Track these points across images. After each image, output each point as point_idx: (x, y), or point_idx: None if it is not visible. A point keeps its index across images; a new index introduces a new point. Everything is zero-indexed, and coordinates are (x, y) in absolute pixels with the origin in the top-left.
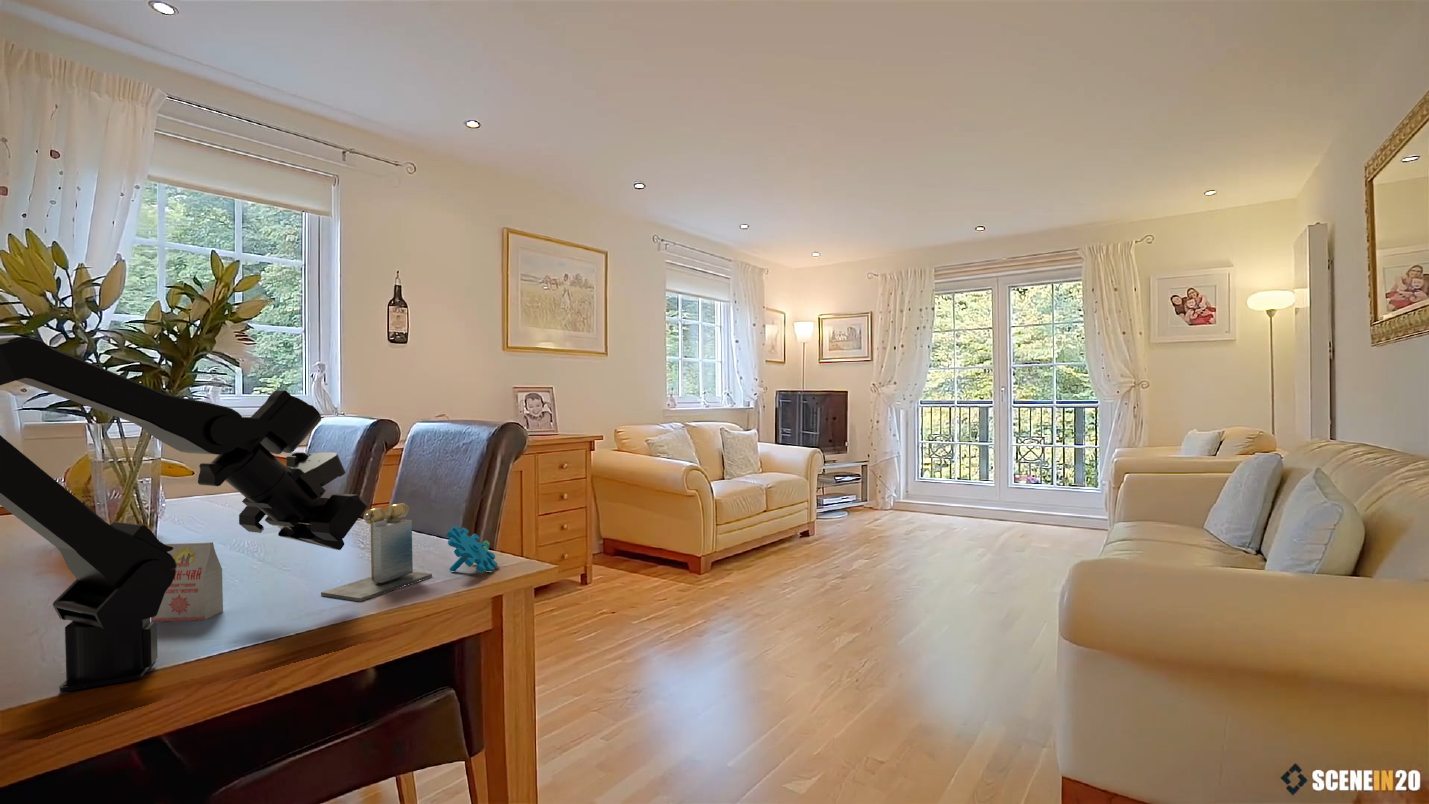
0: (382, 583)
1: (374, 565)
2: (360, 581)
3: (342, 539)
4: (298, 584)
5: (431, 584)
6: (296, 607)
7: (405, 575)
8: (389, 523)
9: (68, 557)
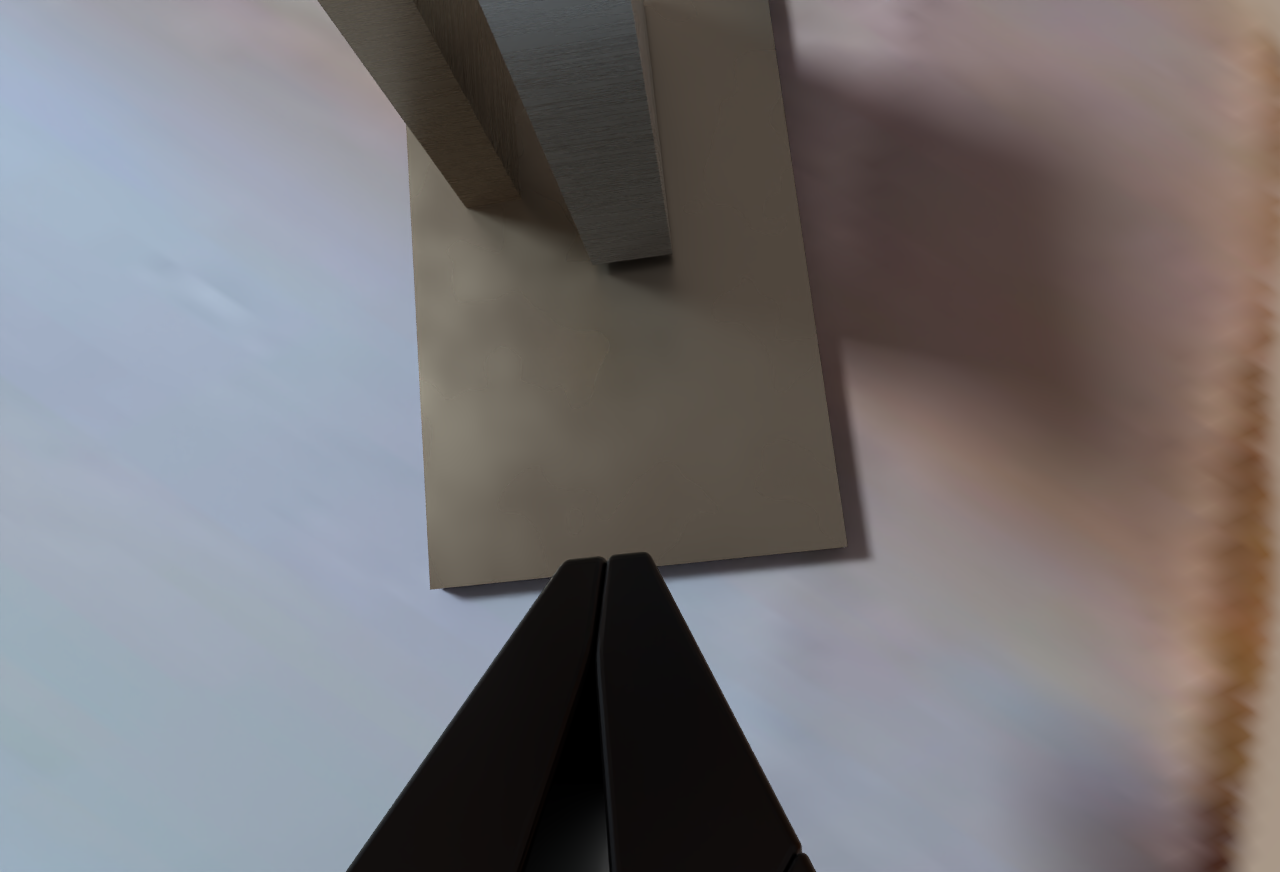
0: None
1: (578, 206)
2: (445, 282)
3: (680, 612)
4: (36, 490)
5: (918, 42)
6: None
7: None
8: None
9: None
